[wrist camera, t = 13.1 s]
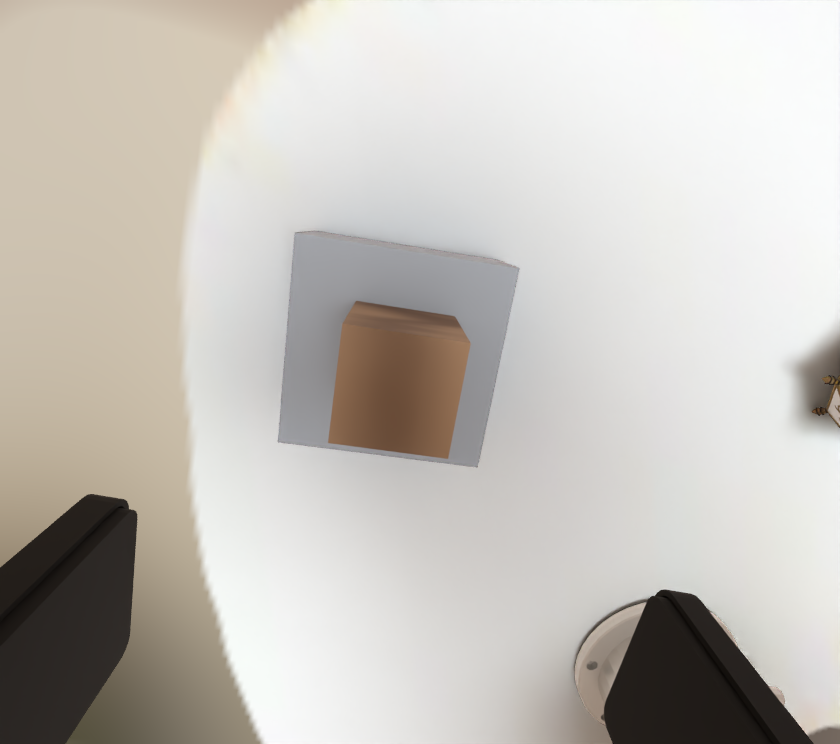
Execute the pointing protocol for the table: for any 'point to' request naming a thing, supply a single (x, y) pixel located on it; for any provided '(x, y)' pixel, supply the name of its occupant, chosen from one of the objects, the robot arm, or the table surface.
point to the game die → (832, 400)
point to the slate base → (399, 287)
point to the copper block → (398, 380)
